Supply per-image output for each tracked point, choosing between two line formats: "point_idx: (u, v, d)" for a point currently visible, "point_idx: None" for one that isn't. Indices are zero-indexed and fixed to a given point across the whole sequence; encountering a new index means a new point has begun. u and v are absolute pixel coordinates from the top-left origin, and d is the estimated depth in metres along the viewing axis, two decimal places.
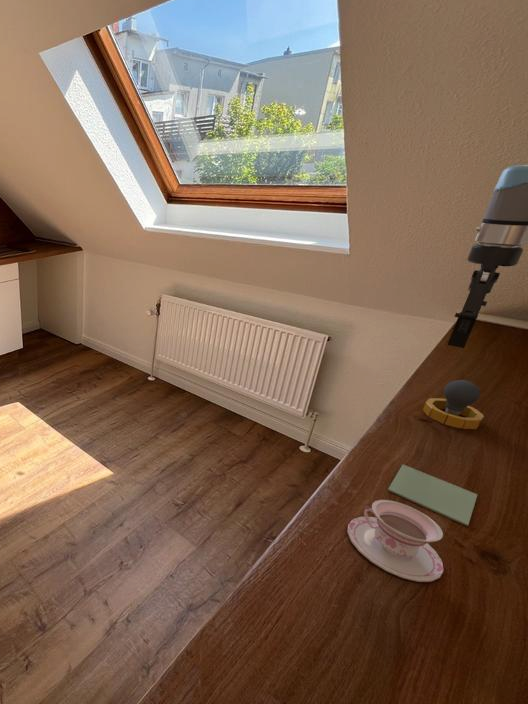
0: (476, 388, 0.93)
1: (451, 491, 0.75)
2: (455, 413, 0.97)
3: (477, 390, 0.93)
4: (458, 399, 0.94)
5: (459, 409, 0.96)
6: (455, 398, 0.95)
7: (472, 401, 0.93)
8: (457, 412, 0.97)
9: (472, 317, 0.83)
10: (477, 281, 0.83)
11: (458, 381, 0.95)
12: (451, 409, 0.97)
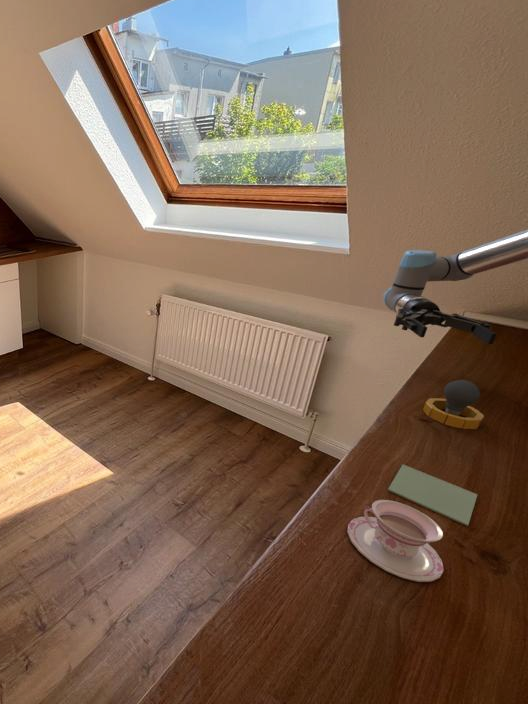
0: (476, 388, 0.93)
1: (451, 491, 0.75)
2: (455, 413, 0.97)
3: (477, 390, 0.93)
4: (458, 399, 0.94)
5: (459, 409, 0.96)
6: (455, 398, 0.95)
7: (472, 401, 0.93)
8: (457, 412, 0.97)
9: (396, 319, 1.09)
10: None
11: (458, 381, 0.95)
12: (451, 409, 0.97)
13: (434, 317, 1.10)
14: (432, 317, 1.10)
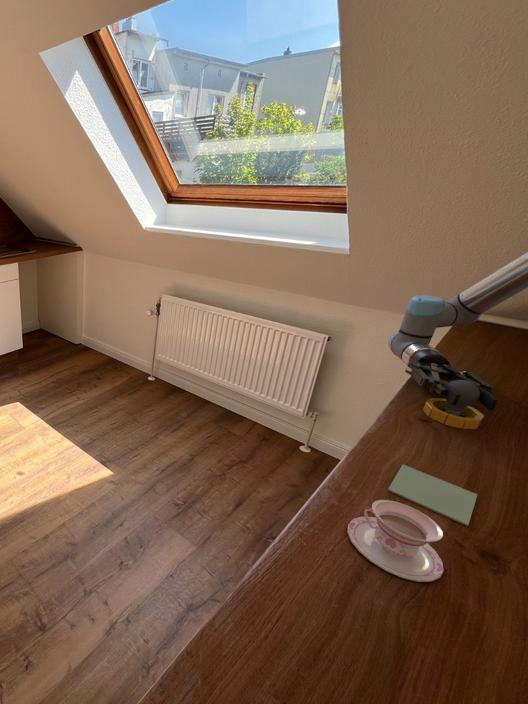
0: (476, 388, 0.93)
1: (451, 491, 0.75)
2: (455, 413, 0.97)
3: (477, 390, 0.93)
4: None
5: (459, 409, 0.96)
6: None
7: (472, 401, 0.93)
8: (457, 412, 0.97)
9: (425, 380, 0.99)
10: (410, 373, 1.06)
11: (458, 381, 0.95)
12: (451, 409, 0.97)
13: (444, 373, 1.03)
14: (442, 373, 1.03)
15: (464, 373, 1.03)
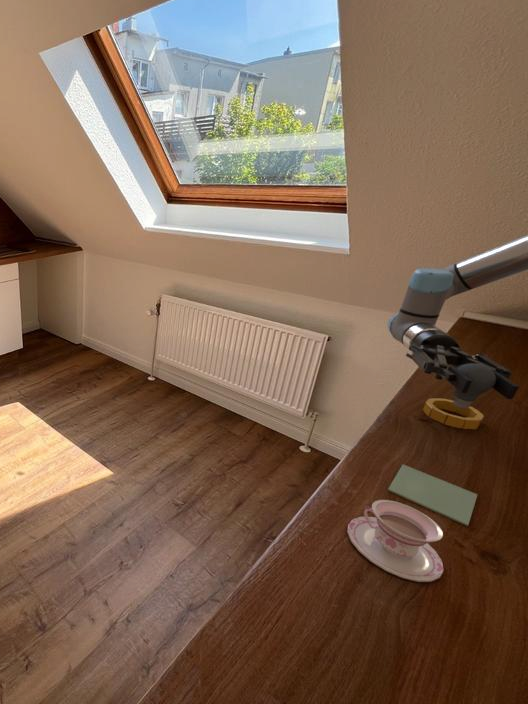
0: (491, 373, 0.77)
1: (451, 491, 0.75)
2: (465, 403, 0.81)
3: (492, 375, 0.77)
4: None
5: (470, 398, 0.79)
6: None
7: (486, 388, 0.77)
8: (468, 402, 0.80)
9: (429, 365, 0.83)
10: (412, 357, 0.90)
11: (469, 365, 0.79)
12: (460, 399, 0.81)
13: (452, 356, 0.87)
14: (449, 356, 0.87)
15: (476, 357, 0.86)
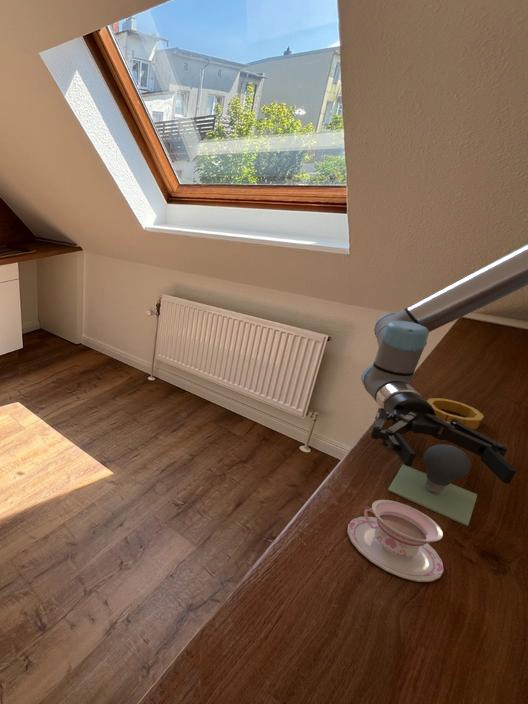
0: (465, 458, 0.70)
1: (451, 491, 0.75)
2: (438, 488, 0.73)
3: (467, 461, 0.69)
4: (441, 472, 0.71)
5: (443, 483, 0.72)
6: (437, 470, 0.71)
7: (460, 475, 0.70)
8: (441, 486, 0.73)
9: (374, 429, 0.79)
10: (377, 420, 0.84)
11: (442, 447, 0.72)
12: (433, 482, 0.73)
13: (426, 426, 0.79)
14: (424, 426, 0.79)
15: (454, 425, 0.80)
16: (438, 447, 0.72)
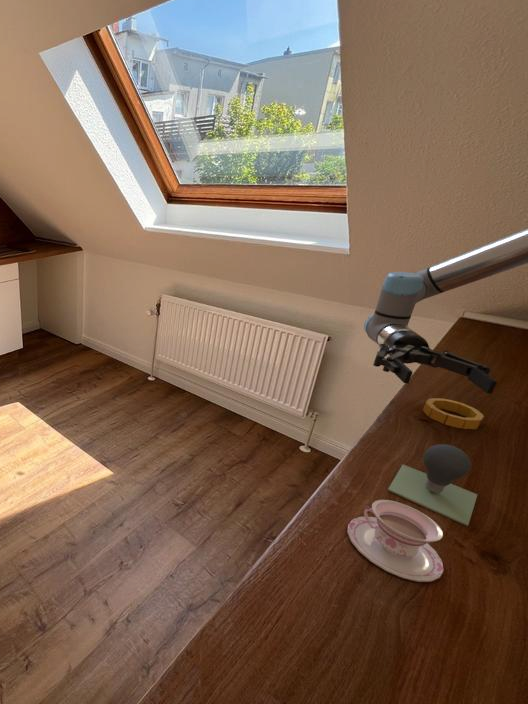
0: (465, 458, 0.70)
1: (451, 491, 0.75)
2: (438, 488, 0.73)
3: (467, 461, 0.69)
4: (441, 472, 0.71)
5: (443, 483, 0.72)
6: (437, 470, 0.71)
7: (460, 475, 0.70)
8: (441, 486, 0.73)
9: (376, 358, 0.91)
10: None
11: (442, 447, 0.72)
12: (433, 482, 0.73)
13: (422, 355, 0.91)
14: (419, 355, 0.92)
15: (445, 354, 0.92)
16: (438, 447, 0.72)
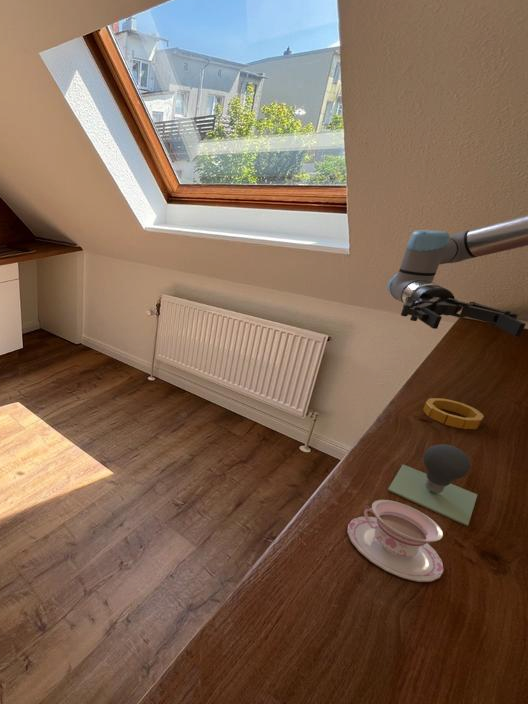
0: (465, 458, 0.70)
1: (451, 491, 0.75)
2: (438, 488, 0.73)
3: (467, 461, 0.69)
4: (441, 472, 0.71)
5: (443, 483, 0.72)
6: (437, 470, 0.71)
7: (460, 475, 0.70)
8: (441, 486, 0.73)
9: (404, 307, 0.93)
10: None
11: (442, 447, 0.72)
12: (433, 482, 0.73)
13: (448, 306, 0.93)
14: (446, 306, 0.94)
15: (472, 305, 0.94)
16: (438, 447, 0.72)
